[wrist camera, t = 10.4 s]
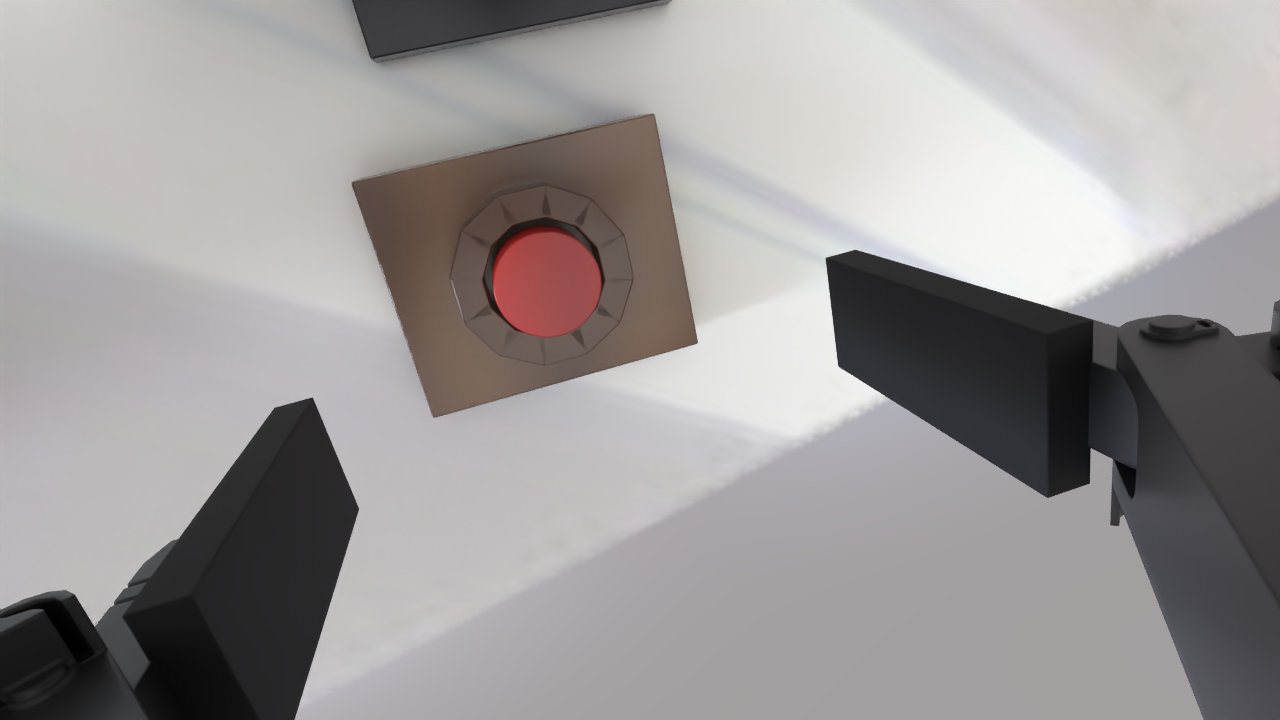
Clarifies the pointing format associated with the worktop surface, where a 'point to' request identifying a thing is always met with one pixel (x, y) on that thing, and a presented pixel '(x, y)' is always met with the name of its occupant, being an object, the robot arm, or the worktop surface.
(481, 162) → the button box
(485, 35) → the black lever stand
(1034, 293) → the worktop surface
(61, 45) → the worktop surface
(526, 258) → the button
